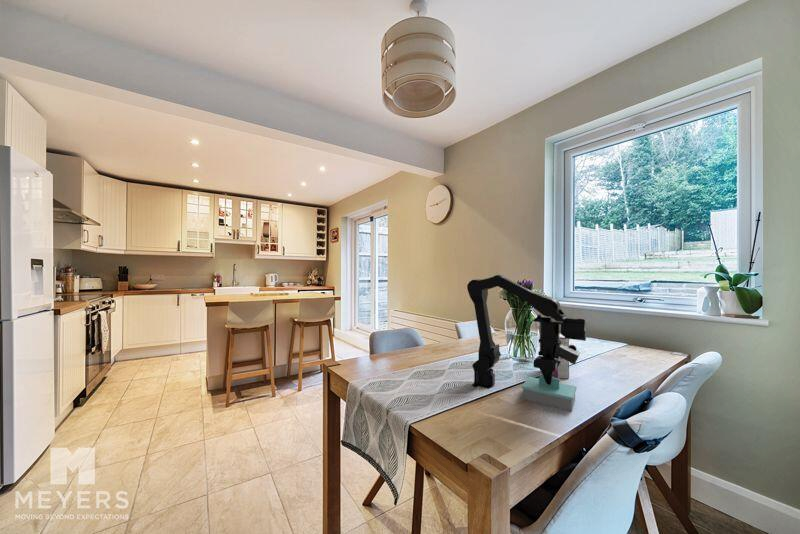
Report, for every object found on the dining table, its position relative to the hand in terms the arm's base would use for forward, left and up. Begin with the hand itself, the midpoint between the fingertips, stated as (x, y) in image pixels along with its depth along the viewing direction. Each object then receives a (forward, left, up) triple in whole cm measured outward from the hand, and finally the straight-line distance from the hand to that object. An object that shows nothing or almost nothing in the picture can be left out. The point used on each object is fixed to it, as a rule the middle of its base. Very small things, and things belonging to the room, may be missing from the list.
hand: (549, 383), depth 98 cm
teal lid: (0, 0, -2) cm, 2 cm away
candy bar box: (-2, +30, -6) cm, 31 cm away
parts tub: (0, 0, -6) cm, 6 cm away
